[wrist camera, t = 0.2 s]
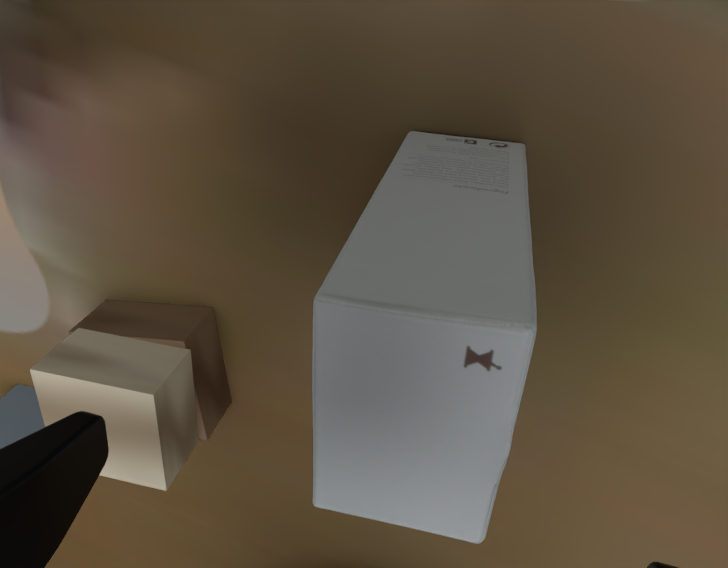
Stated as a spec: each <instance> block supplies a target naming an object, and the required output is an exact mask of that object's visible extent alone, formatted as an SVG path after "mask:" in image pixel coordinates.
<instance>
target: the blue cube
mask: <svg viewBox="0 0 728 568" xmlns="http://www.w3.org/2000/svg"><path fill="white" fill-rule="evenodd" d="M44 427H45V425H44V421H43V417H42V413H41V410H40V406H39V402H38V398H37V394H36V391H35V388H33V387H29V386H25V385H21V384H17V385H16V386H15V387H14V388H12V389H11V390H10V391H9V392H8V393H7V394H5V395H4V396H3V397H2V398H1V399H0V449H1V448H3V447H5V446H7V445H9V444H11V443H13V442H15V441H17V440H19V439H21V438H23V437H26V436H28V435H30V434H32V433H34V432H36V431H38V430H40V429H42V428H44Z"/></svg>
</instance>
